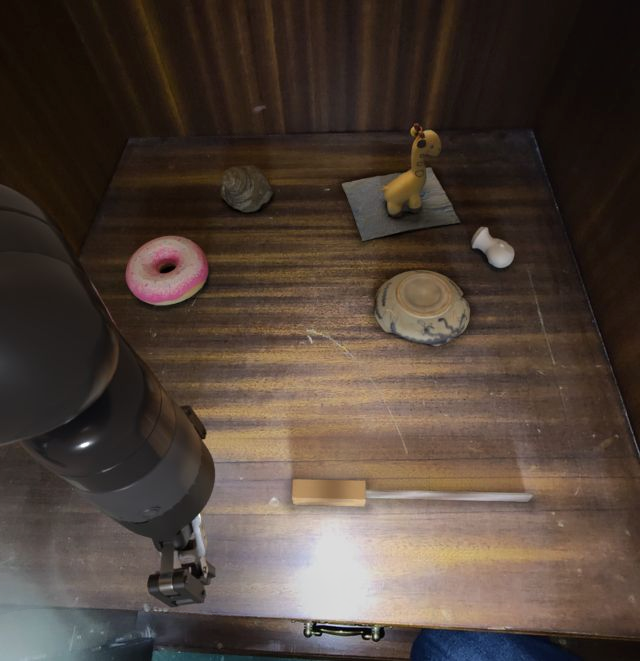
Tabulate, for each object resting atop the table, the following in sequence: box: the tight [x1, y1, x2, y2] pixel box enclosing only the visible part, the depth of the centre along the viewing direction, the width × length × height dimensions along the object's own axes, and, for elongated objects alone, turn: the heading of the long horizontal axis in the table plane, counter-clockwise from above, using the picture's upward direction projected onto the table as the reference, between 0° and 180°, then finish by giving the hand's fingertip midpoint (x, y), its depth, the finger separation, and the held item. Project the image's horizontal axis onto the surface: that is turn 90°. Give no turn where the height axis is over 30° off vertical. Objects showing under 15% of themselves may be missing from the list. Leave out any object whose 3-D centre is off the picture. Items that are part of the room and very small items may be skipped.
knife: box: [291, 478, 534, 507], centre depth 64 cm, size 29×2×3 cm, turn 88°
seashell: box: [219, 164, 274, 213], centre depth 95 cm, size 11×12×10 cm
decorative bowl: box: [373, 269, 471, 347], centre depth 80 cm, size 15×4×15 cm
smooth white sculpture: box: [470, 226, 515, 269], centre depth 86 cm, size 4×8×5 cm
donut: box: [125, 235, 209, 306], centre depth 85 cm, size 14×13×5 cm
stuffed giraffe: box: [341, 123, 461, 242], centre depth 90 cm, size 16×18×16 cm
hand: (204, 523), depth 47 cm, fingers open, 8 cm apart
